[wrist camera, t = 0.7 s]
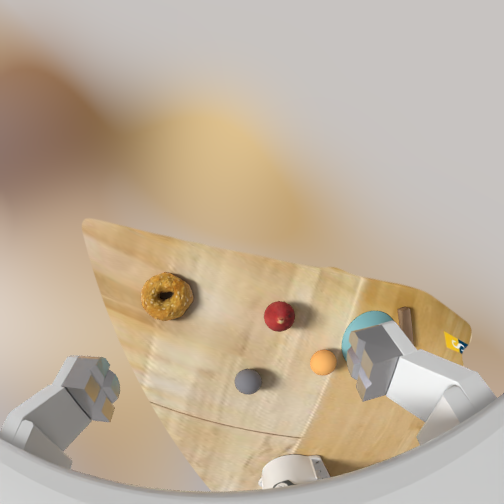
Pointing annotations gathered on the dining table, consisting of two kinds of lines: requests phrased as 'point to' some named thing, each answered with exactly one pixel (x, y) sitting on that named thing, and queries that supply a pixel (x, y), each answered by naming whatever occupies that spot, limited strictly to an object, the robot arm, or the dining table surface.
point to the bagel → (170, 306)
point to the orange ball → (323, 362)
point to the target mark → (363, 326)
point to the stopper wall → (406, 322)
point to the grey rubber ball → (248, 381)
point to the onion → (279, 316)
